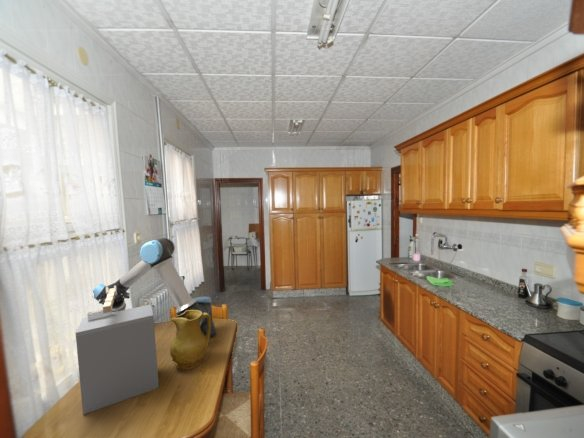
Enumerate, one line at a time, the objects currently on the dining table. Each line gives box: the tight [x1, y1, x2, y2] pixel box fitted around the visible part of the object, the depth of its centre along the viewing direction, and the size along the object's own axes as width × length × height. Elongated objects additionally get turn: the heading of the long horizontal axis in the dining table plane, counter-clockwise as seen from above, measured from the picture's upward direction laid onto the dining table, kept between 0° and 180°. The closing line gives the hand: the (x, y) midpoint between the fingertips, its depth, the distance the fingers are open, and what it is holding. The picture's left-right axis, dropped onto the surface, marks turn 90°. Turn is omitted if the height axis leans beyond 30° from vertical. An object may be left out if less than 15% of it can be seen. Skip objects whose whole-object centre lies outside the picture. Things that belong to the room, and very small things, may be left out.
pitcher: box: [169, 310, 211, 371], centre depth 131 cm, size 17×19×25 cm
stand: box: [75, 303, 160, 416], centre depth 113 cm, size 16×26×32 cm, turn 121°
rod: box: [102, 288, 115, 313], centre depth 115 cm, size 30×2×2 cm, turn 31°
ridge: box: [86, 308, 112, 321], centre depth 113 cm, size 2×8×3 cm, turn 121°
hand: (110, 289), depth 121 cm, fingers closed on rod, 2 cm apart
